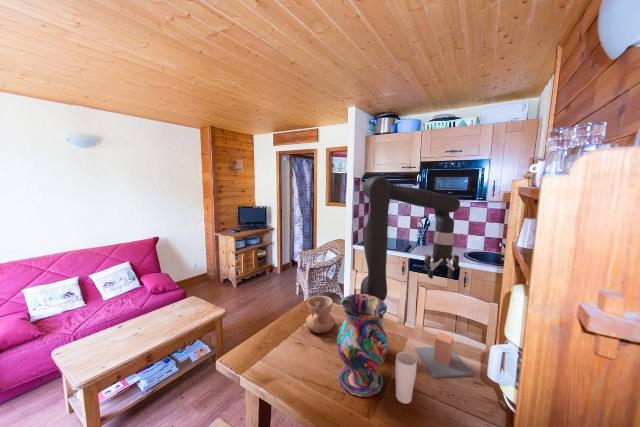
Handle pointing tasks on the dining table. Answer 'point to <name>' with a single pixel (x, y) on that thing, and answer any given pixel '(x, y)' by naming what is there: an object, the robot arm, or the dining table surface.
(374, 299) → the vase
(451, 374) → the charcoal mat
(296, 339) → the dining table surface
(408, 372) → the drinking glass
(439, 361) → the brick block
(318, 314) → the ceramic jug
